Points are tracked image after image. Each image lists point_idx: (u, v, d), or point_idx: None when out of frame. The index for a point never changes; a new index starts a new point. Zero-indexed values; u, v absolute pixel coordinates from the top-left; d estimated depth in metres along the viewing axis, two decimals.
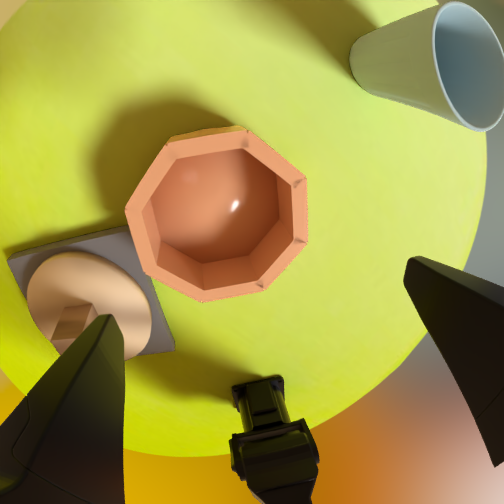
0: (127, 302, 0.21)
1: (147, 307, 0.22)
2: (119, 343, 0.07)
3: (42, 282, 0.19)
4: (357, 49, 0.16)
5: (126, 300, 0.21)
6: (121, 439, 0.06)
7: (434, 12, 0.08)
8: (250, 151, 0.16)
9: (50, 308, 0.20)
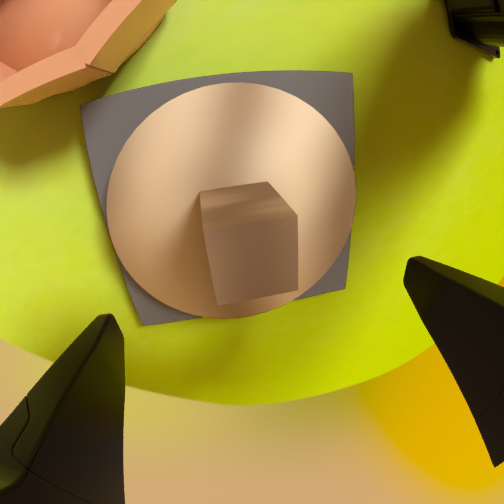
0: (200, 118, 0.11)
1: None
2: (119, 343, 0.07)
3: (157, 277, 0.14)
4: None
5: (195, 119, 0.11)
6: (121, 440, 0.06)
7: None
8: None
9: (211, 279, 0.15)
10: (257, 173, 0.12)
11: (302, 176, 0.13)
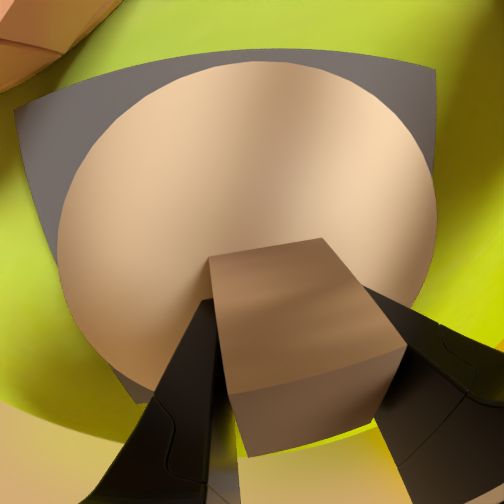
0: (208, 127, 0.06)
1: None
2: None
3: (149, 368, 0.09)
4: None
5: (199, 129, 0.06)
6: (234, 431, 0.06)
7: None
8: None
9: None
10: (306, 225, 0.07)
11: (373, 227, 0.08)
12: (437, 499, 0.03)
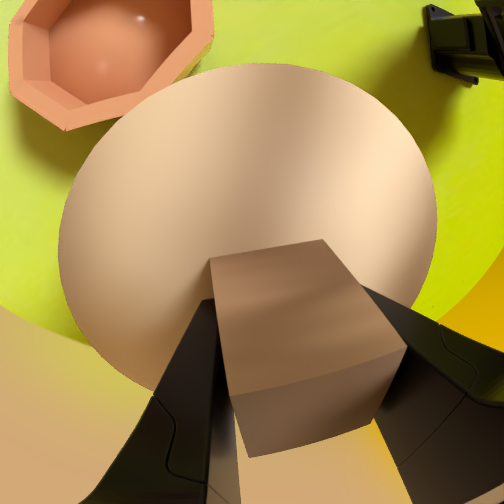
0: (210, 129, 0.06)
1: None
2: None
3: (149, 369, 0.09)
4: None
5: (200, 131, 0.06)
6: (234, 431, 0.06)
7: None
8: (27, 13, 0.07)
9: None
10: (307, 226, 0.07)
11: (373, 229, 0.08)
12: (437, 499, 0.03)
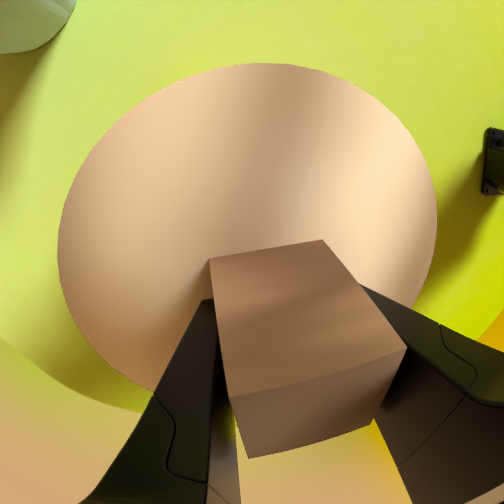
0: (209, 129, 0.06)
1: None
2: None
3: (149, 369, 0.09)
4: (13, 52, 0.08)
5: (199, 131, 0.06)
6: None
7: None
8: None
9: None
10: (306, 227, 0.07)
11: (373, 229, 0.08)
12: (437, 499, 0.03)
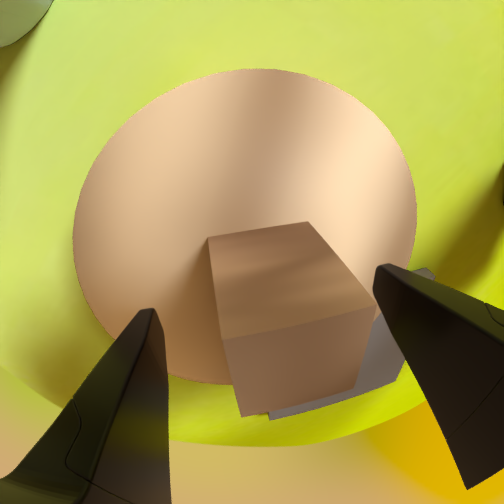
0: (208, 125, 0.07)
1: None
2: (161, 338, 0.07)
3: None
4: None
5: (200, 126, 0.07)
6: (167, 438, 0.06)
7: None
8: None
9: (224, 346, 0.11)
10: (293, 210, 0.08)
11: (355, 213, 0.09)
12: (486, 463, 0.04)
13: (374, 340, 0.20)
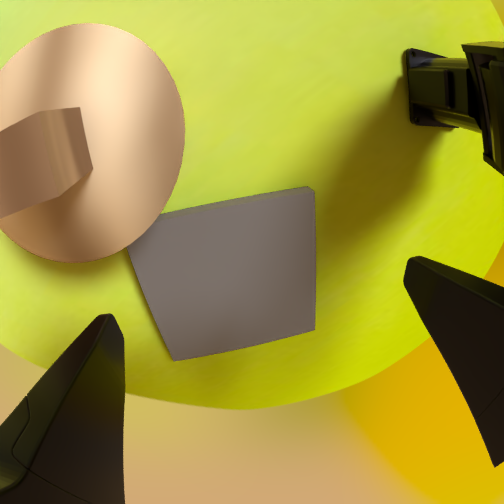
0: (26, 67, 0.08)
1: (45, 35, 0.08)
2: (119, 343, 0.07)
3: (10, 218, 0.11)
4: None
5: (23, 69, 0.08)
6: (121, 440, 0.06)
7: None
8: None
9: (49, 217, 0.12)
10: (69, 101, 0.10)
11: (112, 95, 0.10)
12: None
13: (256, 265, 0.21)
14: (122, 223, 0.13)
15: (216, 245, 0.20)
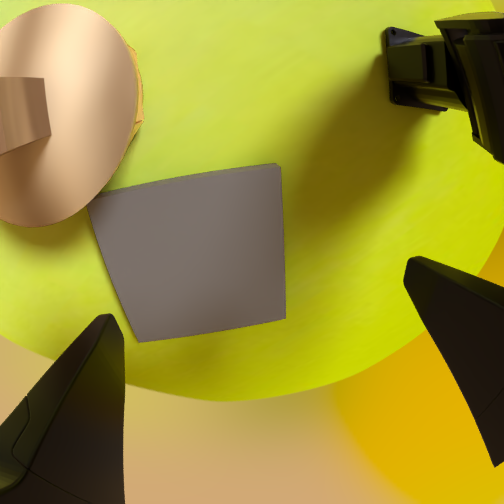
0: (3, 45, 0.07)
1: (21, 16, 0.07)
2: (119, 343, 0.07)
3: None
4: None
5: (1, 47, 0.07)
6: (121, 440, 0.06)
7: None
8: None
9: (13, 181, 0.11)
10: (36, 73, 0.09)
11: (72, 65, 0.09)
12: None
13: (219, 243, 0.20)
14: (75, 187, 0.12)
15: (177, 220, 0.19)
